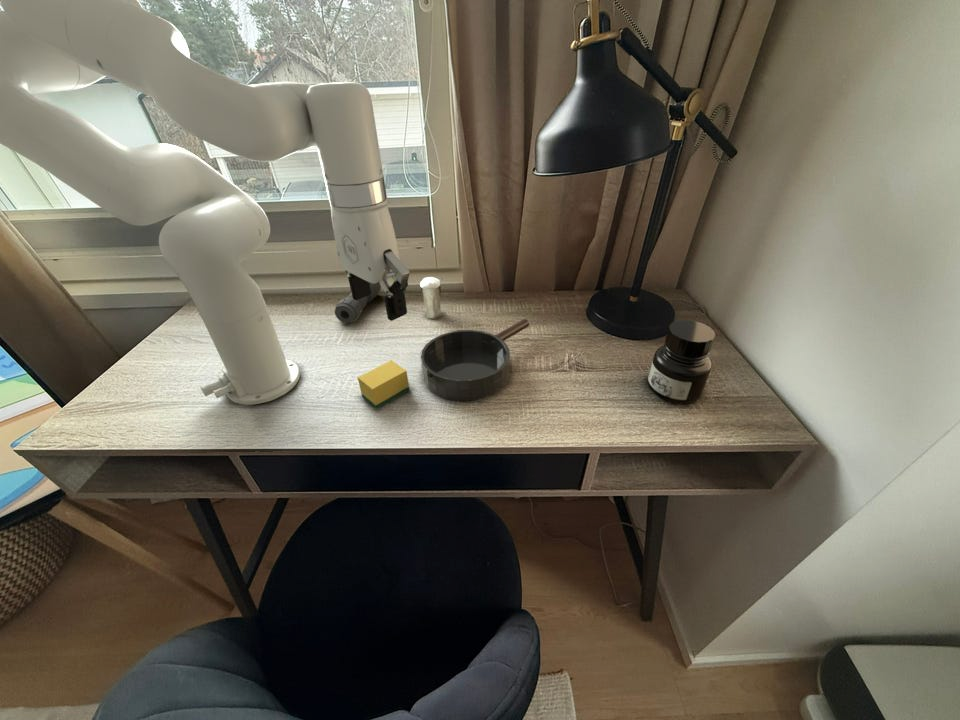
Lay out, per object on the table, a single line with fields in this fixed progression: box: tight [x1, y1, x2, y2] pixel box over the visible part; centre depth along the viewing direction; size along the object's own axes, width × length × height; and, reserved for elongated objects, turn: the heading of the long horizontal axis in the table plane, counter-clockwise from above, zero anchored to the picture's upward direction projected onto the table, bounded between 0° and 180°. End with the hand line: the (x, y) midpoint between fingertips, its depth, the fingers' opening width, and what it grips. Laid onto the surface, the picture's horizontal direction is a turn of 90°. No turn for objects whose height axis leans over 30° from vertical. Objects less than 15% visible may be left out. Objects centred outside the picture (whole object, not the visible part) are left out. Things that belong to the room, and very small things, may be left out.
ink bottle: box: [647, 319, 716, 405], centre depth 71 cm, size 10×9×12 cm
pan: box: [419, 329, 511, 402], centre depth 78 cm, size 16×16×4 cm
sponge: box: [357, 360, 410, 409], centre depth 74 cm, size 7×5×4 cm, turn 135°
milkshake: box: [419, 276, 444, 320], centre depth 94 cm, size 4×5×10 cm
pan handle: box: [494, 318, 530, 342], centre depth 85 cm, size 9×2×2 cm, turn 135°
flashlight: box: [334, 281, 382, 324], centre depth 99 cm, size 15×5×5 cm, turn 169°
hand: (379, 306), depth 66 cm, fingers open, 9 cm apart
